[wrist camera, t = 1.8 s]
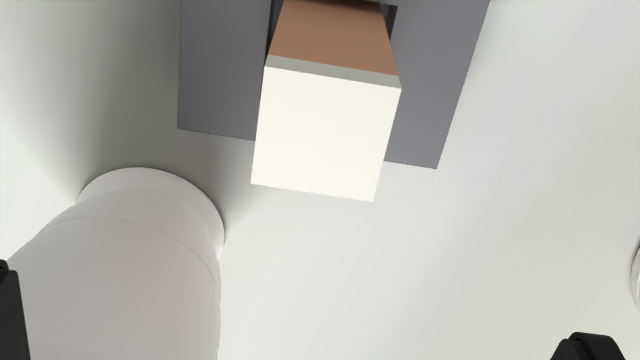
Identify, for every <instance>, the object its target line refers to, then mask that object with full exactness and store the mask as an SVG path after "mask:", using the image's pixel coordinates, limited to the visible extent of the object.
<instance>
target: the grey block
mask: <svg viewBox="0 0 640 360" xmlns="http://www.w3.org/2000/svg"><path fill="white" fill-rule="evenodd" d="M367 1H373V2H378V3H380V6H381V10H382V14H383V18H384V22H385V26H386V30H387V33H388V37H389V41H390V45H391V49H392V53H393V57H394V61H395V65H396V69H397V72H398V76H399V80H400V84H401V88H402V90H401V94H400V98H399V101H398V105H397V109H396V113H395V117H394V121H393V125H392V129H391V132H390V136H389V140H388V144H387V148H386V152H385V156H384V160H383V161H388V162H394V163H401V164H407V165H413V166H420V167H426V168H433V169H437V166H438V163H439V160H440V157H441V154H442V151H443V147H444V144H445V141H446V138H447V135H448V132H449V128H450V125H451V122H452V119H453V116H454V113H455V109H456V106H457V103H458V100H459V97H460V94H461V91H462V87H463V84H464V81H465V78H466V75H467V72H468V68H469V65H470V62H471V59H472V56H473V53H474V49H475V46H476V43H477V40H478V37H479V34H480V31H481V27H482V24H483V21H484V18H485V15H486V12H487V8H488V5H489V2H490V0H367ZM283 2H284V0H182V19H181V45H180V71H179V97H178V123H177V129H183V130H189V131H195V132H202V133H208V134H215V135H221V136H227V137H234V138H240V139H247V140H253V141H256V133H257V124H258V116H259V108H260V99H261V91H262V83H263V74H264V66H265V63H266V59H267V56H268V53H269V49H270V46H271V42H272V39H273V36H274V32H275V29H276V25H277V22H278V19H279V15H280V12H281V8H282V5H283Z"/></svg>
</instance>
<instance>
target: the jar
mask: <svg viewBox="0 0 640 360" xmlns="http://www.w3.org/2000/svg"><path fill="white" fill-rule="evenodd" d="M223 246H224V227H223V223H222V220H221V218H220V215H219V213H218V211H217V209H216V208H215V206H214V205H213V203H212V202H211V201H210V200H209V198H208V197H207V196H206V195H205V194H204V193H203V192H202V191H200V190H199V189H198V188H197V187H195V186H194V185H192V184H191V183H189V182H188V181H186V180H184V179H182V178H180V177H178V176H176V175H174V174H171V173H168V172H165V171H161V170H157V169H151V168H143V167H131V168H122V169H117V170H113V171H110V172H108V173H105V174H103V175H101V176H99V177H97V178H96V179H94V180H93V181H92V182H90V183H89V184H88V185H87V186H86V187H85V188H84V189H83V191H82V192H81V193H80V195H79V197H78V199H77V201H76V204H75V205H73V206H72V207H70V208H68V209H67V210H65V211H64V212H62V213H61V214H59V215H58V216H57V217H55V218H54V219H53V220H52V221H51V222H49V223H48V224H47V225H46V226H45V227H44V228H43V229H42V230H41V231H40V232H39V233H38V234H37V235H36V236H35V237H34V238H33V239H32V240H30V241H29V242H28V243H26V244H25V245H24V246H23V247H21V248H20V249H19V250H18V251H17V252H16V253H15V254H13V255H12V256H11V257H10V258H9V259H8V260H7V261H6V262H7V264H8V267H9V270H16V272H17V273H18V277H19V284H20V290H21V297H22V304H23V310H24V317H25V324H26V330H27V337H28V344H29V350H30V357H31V360H217V356H218V348H219V339H220V298H221V277H220V268H219V263H218V259H219V257H220V255H221V253H222V250H223Z"/></svg>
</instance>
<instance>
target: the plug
mask: <svg viewBox="0 0 640 360" xmlns="http://www.w3.org/2000/svg"><path fill="white" fill-rule="evenodd" d="M401 90H402V88H401V84H400V80H399V76H398V72H397V69H396V65H395V61H394V57H393V53H392V49H391V45H390V41H389V37H388V33H387V30H386V26H385V22H384V18H383V14H382V10H381V6H380V3H378V2H373V1H367V0H284V2H283V5H282V8H281V12H280V15H279V19H278V22H277V25H276V29H275V32H274V36H273V39H272V42H271V46H270V49H269V53H268V56H267V59H266V63H265V66H264V74H263V83H262V91H261V99H260V108H259V116H258V124H257V133H256V141H255V149H254V158H253V166H252V174H251V183H250V184H256V185H263V186H269V187H276V188H282V189H289V190H296V191H302V192H309V193H316V194H322V195H329V196H335V197H342V198H349V199H355V200H362V201H369V202H373V199H374V195H375V191H376V187H377V183H378V179H379V175H380V171H381V167H382V164H383V160H384V156H385V152H386V148H387V144H388V140H389V136H390V132H391V129H392V125H393V121H394V117H395V113H396V109H397V105H398V101H399V98H400V94H401Z"/></svg>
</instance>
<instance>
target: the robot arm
mask: <svg viewBox="0 0 640 360" xmlns="http://www.w3.org/2000/svg"><path fill="white" fill-rule="evenodd" d="M630 281H631V289H632V295H633V298H634V300H635V302H636V304H637V307H638V308H639V310H640V248H639V250H638V252H637V255H636V257H635V260H634V262H633V265H632V272H631V279H630ZM0 360H31V357H30V350H29V344H28V337H27V330H26V324H25V317H24V310H23V304H22V297H21V290H20V284H19V277H18V273H17V272H16V270H9V267H8V264H7V262H6V261H5V260H1V259H0ZM550 360H625V358H624V356H623V354H622V353H621V351H620V349H619V347H618V346H617V344H616V342H615V341H614V340H613V338H611V337H609V336H606V335H598V334H590V333H582V332H575V333H573V334H571V336H570V337H569V338H568V339H563V340H562V341H561V342H560V343H559V345H558V347H557V349H556V350H555V352H554V354H553V356H552V358H551V359H550Z"/></svg>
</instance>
